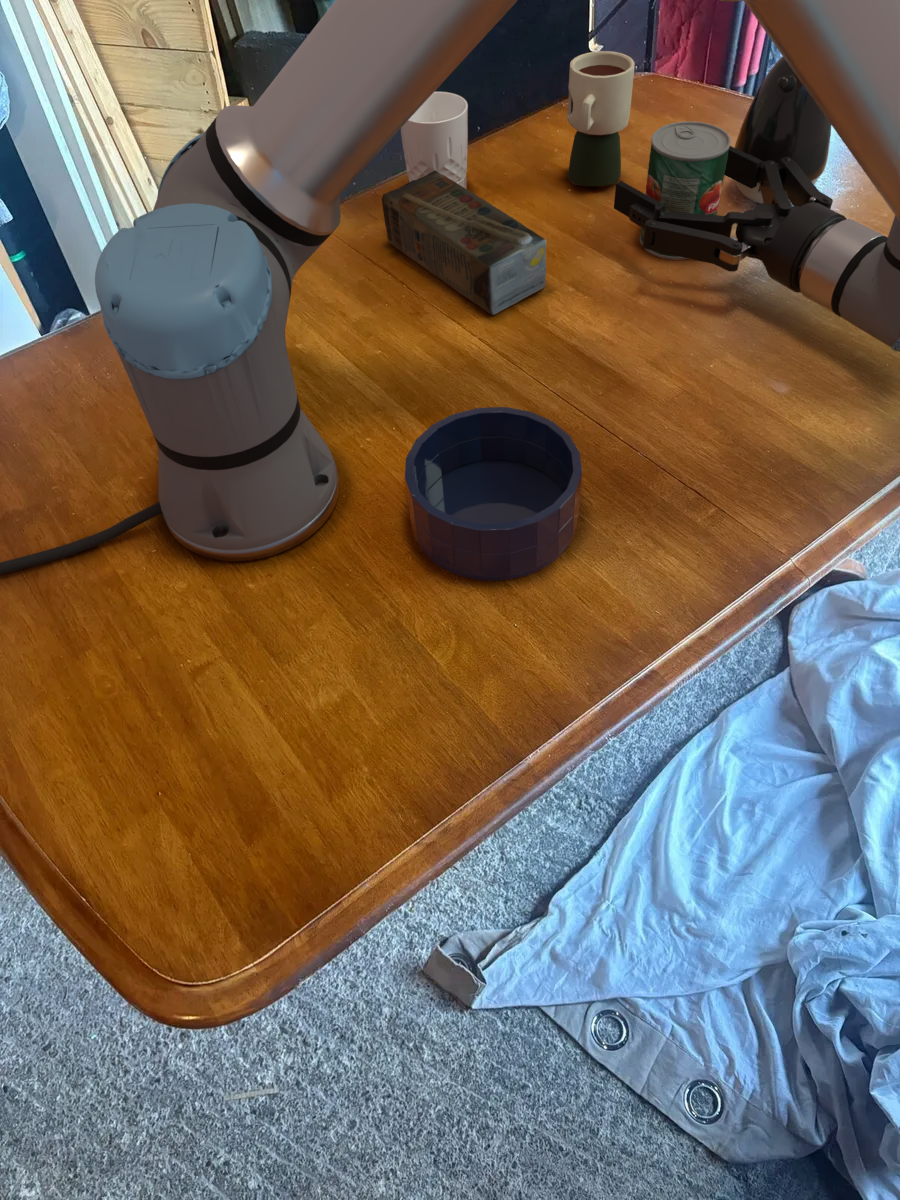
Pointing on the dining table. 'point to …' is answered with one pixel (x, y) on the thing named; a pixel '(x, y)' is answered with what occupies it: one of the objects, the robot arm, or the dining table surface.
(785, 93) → the dark brown egg shape
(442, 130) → the white cup
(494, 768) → the dining table surface
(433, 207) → the beverage carton
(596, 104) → the character mug
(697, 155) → the canned tomato
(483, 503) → the pot
